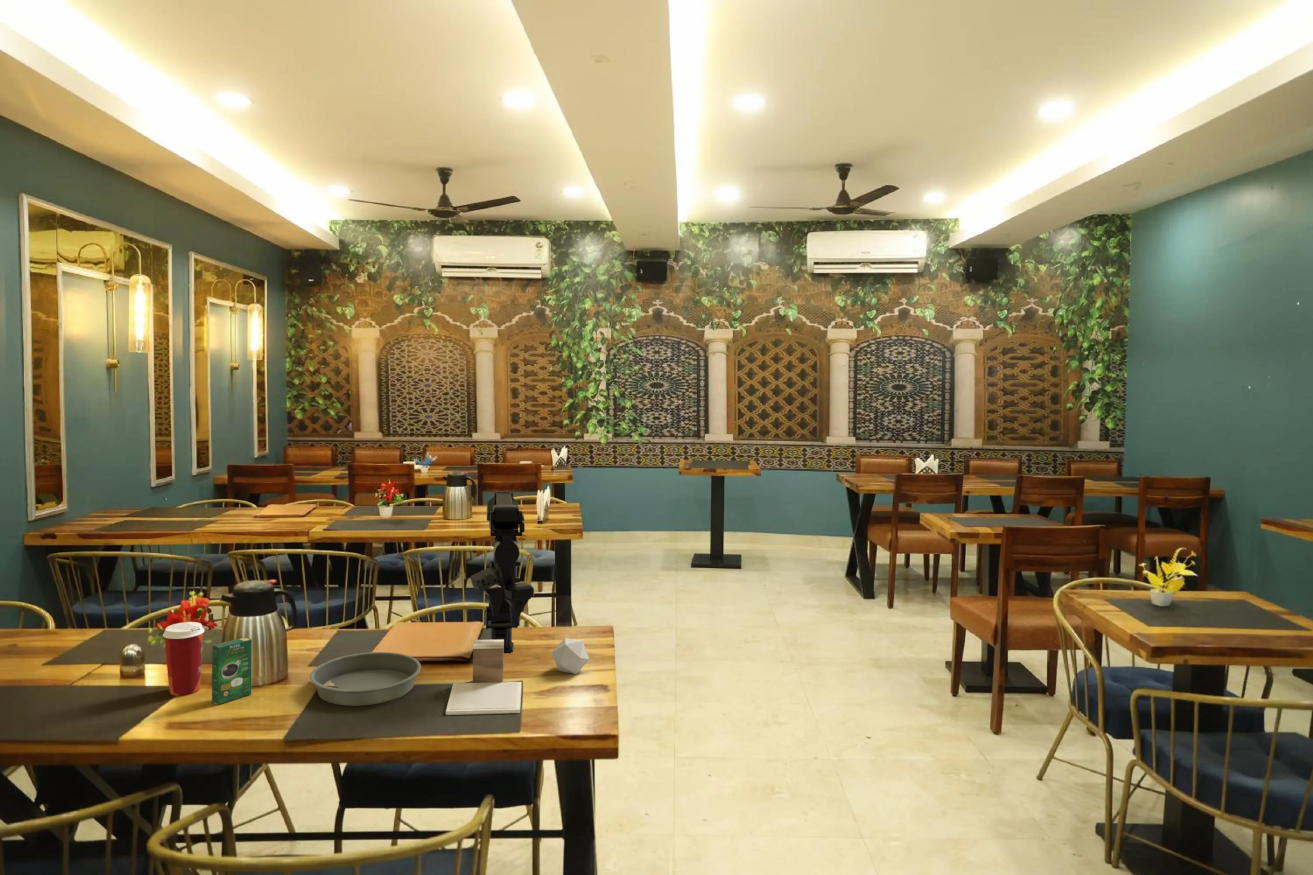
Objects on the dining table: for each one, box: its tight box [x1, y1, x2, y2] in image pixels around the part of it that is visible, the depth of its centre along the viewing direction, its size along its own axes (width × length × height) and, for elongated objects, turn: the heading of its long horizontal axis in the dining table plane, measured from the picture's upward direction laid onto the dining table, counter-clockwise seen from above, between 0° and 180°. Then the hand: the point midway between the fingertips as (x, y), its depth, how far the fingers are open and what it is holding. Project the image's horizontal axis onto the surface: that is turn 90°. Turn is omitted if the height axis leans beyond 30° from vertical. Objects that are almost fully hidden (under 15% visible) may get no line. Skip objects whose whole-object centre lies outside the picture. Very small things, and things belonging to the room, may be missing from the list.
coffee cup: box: [162, 621, 205, 697], centre depth 190 cm, size 8×8×15 cm
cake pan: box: [309, 651, 422, 706], centre depth 196 cm, size 25×25×4 cm
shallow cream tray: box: [445, 681, 523, 716], centre depth 191 cm, size 16×16×1 cm
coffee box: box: [211, 636, 253, 705], centre depth 187 cm, size 8×3×13 cm, turn 147°
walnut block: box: [472, 639, 505, 683], centre depth 201 cm, size 4×7×10 cm, turn 98°
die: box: [551, 637, 590, 675], centre depth 211 cm, size 8×9×10 cm
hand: (504, 619), depth 206 cm, fingers open, 9 cm apart
